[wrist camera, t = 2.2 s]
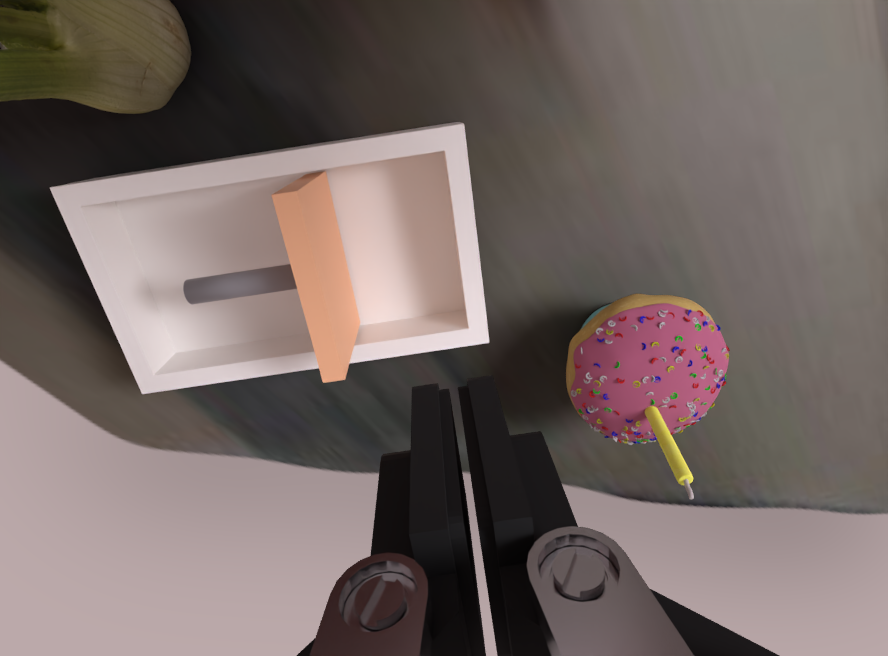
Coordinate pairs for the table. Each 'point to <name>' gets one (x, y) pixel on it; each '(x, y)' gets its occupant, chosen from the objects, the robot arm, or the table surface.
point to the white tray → (282, 255)
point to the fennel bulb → (93, 52)
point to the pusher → (302, 273)
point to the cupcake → (647, 371)
